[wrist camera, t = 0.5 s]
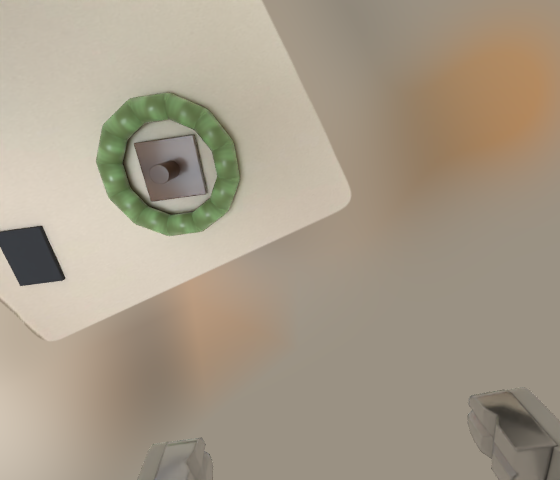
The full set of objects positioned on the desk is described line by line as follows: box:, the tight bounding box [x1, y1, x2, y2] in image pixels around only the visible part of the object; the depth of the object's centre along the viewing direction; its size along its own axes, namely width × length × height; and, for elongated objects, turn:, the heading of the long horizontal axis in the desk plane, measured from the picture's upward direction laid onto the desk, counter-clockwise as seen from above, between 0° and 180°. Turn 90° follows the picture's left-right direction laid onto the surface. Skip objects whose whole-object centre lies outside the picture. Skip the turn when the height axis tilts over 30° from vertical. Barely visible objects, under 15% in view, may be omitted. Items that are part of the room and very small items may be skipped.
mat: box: [0, 226, 65, 286], centre depth 46 cm, size 9×7×1 cm
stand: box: [134, 135, 207, 202], centre depth 39 cm, size 8×8×6 cm
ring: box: [96, 93, 240, 236], centre depth 40 cm, size 18×18×3 cm
